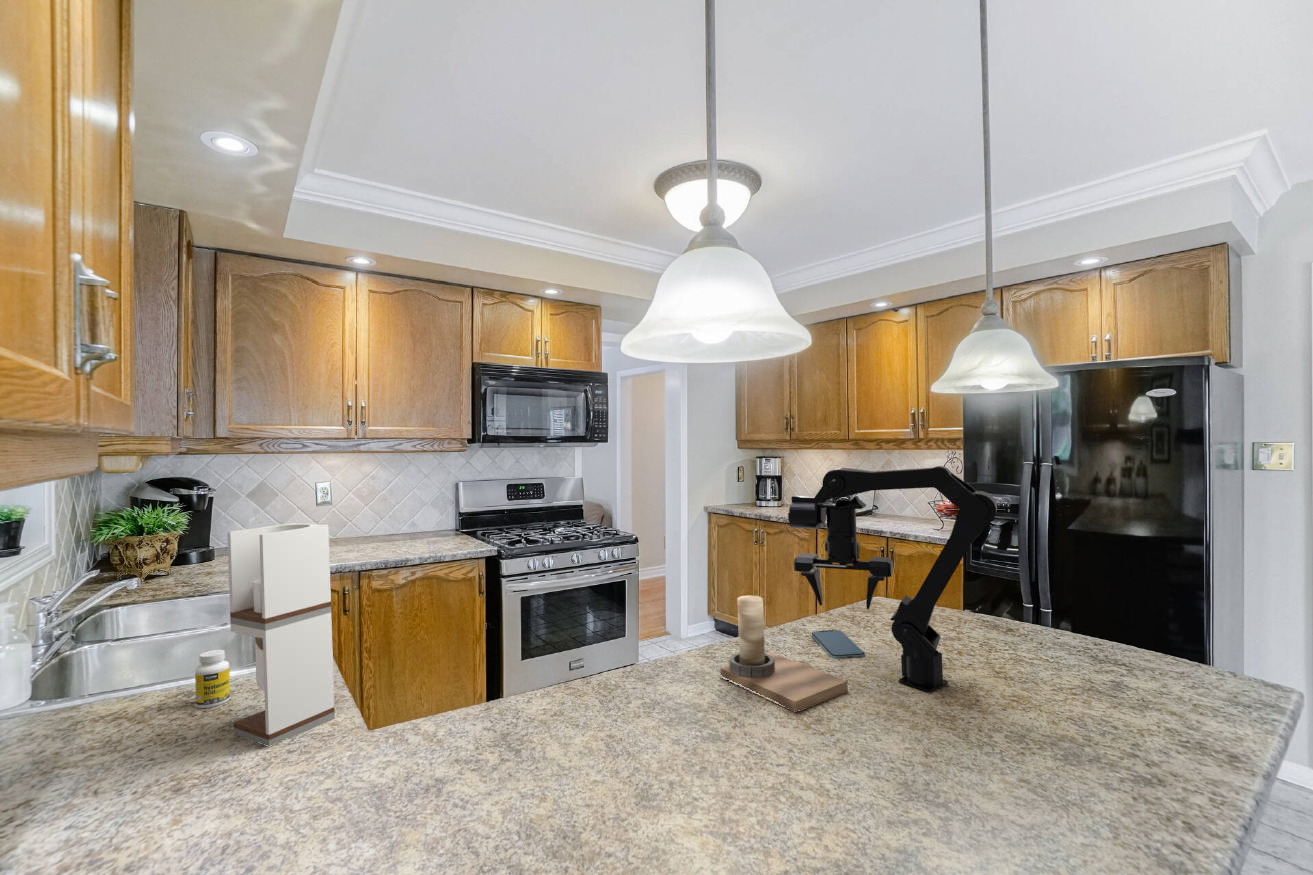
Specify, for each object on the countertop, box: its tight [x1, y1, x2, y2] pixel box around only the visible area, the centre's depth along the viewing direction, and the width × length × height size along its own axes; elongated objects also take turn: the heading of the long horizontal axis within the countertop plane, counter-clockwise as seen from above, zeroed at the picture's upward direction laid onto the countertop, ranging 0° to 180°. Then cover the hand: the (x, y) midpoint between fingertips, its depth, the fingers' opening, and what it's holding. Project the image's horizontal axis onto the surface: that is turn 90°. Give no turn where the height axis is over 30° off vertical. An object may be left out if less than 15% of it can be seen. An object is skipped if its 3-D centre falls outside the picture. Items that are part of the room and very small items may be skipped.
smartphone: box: [811, 629, 866, 660], centre depth 137 cm, size 8×2×15 cm
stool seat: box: [719, 652, 849, 713], centre depth 117 cm, size 20×14×4 cm
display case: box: [227, 522, 336, 746], centre depth 107 cm, size 11×11×35 cm
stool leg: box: [736, 595, 766, 666], centre depth 120 cm, size 5×5×14 cm
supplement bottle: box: [194, 649, 231, 709], centre depth 118 cm, size 5×5×10 cm
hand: (844, 606), depth 123 cm, fingers open, 9 cm apart
